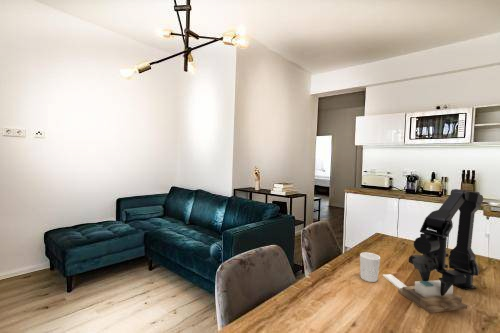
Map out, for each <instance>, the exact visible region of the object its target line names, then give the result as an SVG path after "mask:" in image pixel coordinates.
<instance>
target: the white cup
mask: <svg viewBox="0 0 500 333" xmlns="http://www.w3.org/2000/svg"><path fill="white" fill-rule="evenodd" d="M380 262H381V256H380V255H378V254H375V253H374V252H373V253H372V252H366V251H365V252H361V253H359V271H360V272H359V273H360V279H361V280H362V281H363V280H364V281H365V282H369V283H375V282H377V281H378V277H379V273H380V264H381V263H380Z"/></svg>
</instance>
